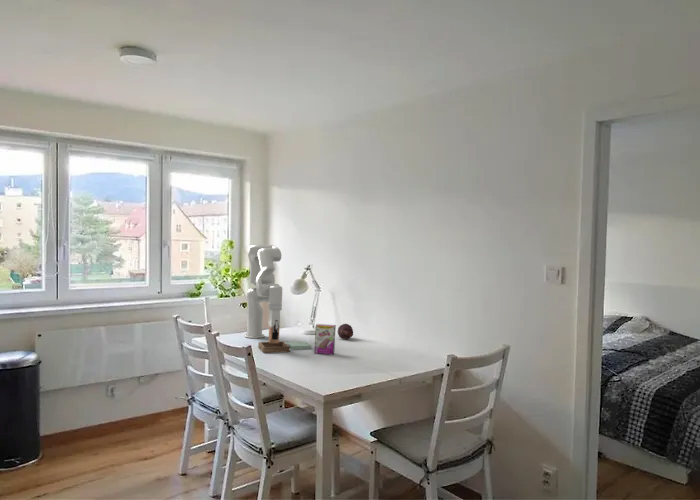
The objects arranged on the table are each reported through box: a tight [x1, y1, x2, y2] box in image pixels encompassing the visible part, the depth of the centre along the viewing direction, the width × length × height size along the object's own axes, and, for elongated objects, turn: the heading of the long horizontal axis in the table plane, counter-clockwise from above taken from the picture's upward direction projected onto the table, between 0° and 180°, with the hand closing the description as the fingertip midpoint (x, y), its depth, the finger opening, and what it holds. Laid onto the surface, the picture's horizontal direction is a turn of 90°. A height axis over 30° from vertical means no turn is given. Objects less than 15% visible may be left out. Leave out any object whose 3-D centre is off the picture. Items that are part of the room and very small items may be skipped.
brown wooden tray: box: [257, 341, 291, 354], centre depth 302 cm, size 15×15×3 cm
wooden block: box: [268, 325, 281, 343], centre depth 302 cm, size 5×5×10 cm
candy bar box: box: [314, 323, 337, 355], centre depth 297 cm, size 11×5×16 cm, turn 84°
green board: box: [286, 340, 313, 351], centre depth 312 cm, size 12×12×2 cm
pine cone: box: [336, 323, 354, 340], centre depth 342 cm, size 18×10×10 cm, turn 20°
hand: (273, 338), depth 303 cm, fingers closed on wooden block, 5 cm apart
